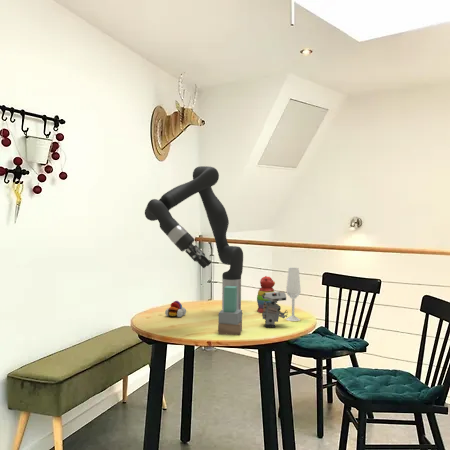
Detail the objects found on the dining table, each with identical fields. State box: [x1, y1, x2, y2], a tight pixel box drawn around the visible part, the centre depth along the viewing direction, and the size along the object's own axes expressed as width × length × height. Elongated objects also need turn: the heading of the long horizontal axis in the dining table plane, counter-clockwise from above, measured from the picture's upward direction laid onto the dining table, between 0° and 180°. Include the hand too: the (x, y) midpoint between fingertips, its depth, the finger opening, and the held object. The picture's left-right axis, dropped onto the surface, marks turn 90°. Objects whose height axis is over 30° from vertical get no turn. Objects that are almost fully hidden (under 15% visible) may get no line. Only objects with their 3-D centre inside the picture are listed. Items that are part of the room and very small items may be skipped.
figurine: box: [261, 290, 288, 329], centre depth 210 cm, size 9×12×15 cm
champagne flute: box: [285, 267, 301, 322], centre depth 222 cm, size 7×7×24 cm
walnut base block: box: [217, 320, 243, 336], centre depth 198 cm, size 9×9×4 cm
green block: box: [224, 286, 237, 312], centre depth 198 cm, size 5×5×10 cm
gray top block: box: [217, 309, 243, 325], centre depth 198 cm, size 8×8×4 cm
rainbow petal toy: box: [164, 300, 187, 318], centre depth 228 cm, size 8×10×7 cm
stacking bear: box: [256, 275, 276, 314], centre depth 240 cm, size 11×10×18 cm
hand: (207, 265), depth 199 cm, fingers open, 8 cm apart
